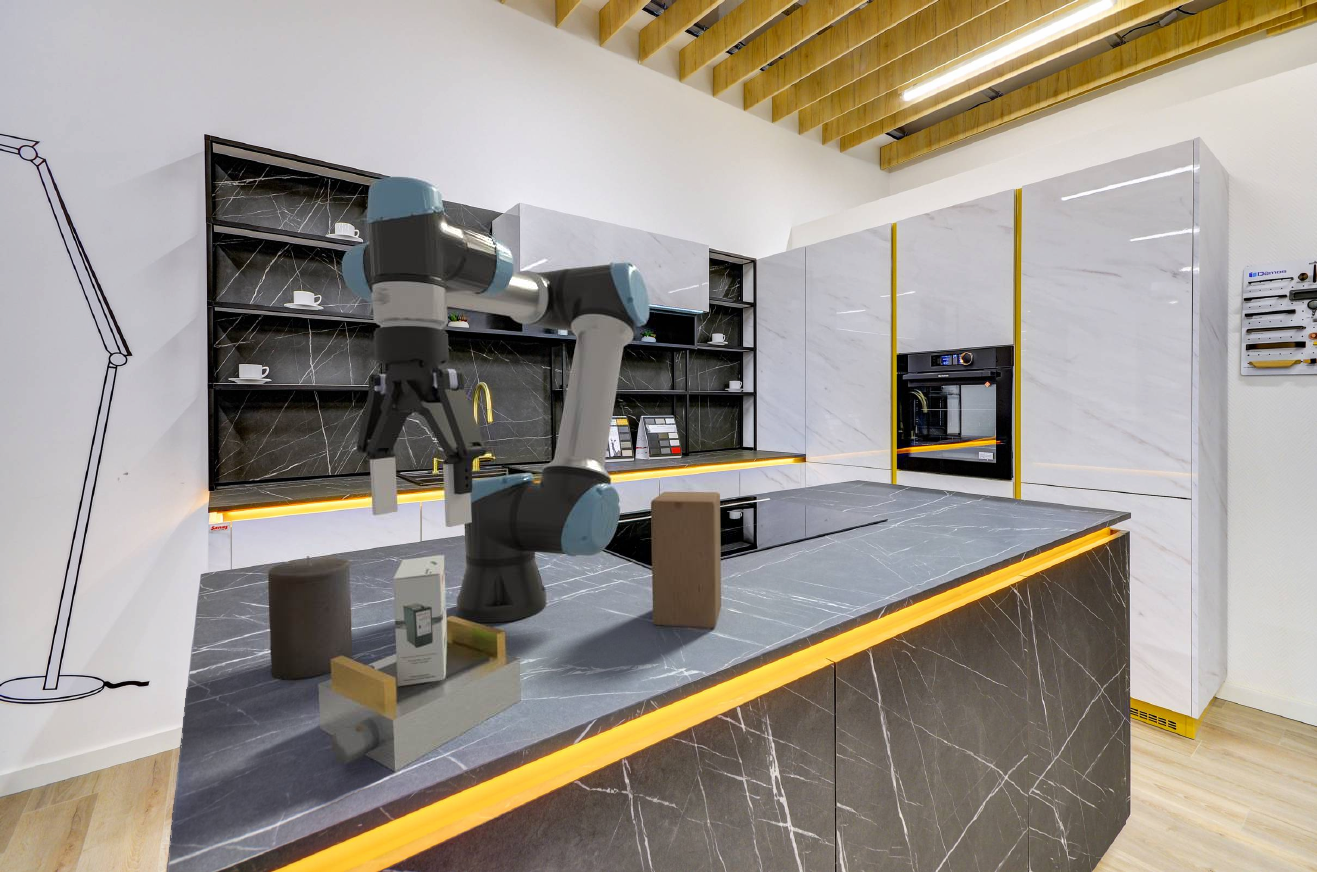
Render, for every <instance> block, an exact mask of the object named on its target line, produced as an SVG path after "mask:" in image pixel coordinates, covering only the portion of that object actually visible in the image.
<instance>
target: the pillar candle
mask: <svg viewBox="0 0 1317 872" xmlns="http://www.w3.org/2000/svg"><path fill="white" fill-rule="evenodd" d="M267 579H268V580H267V581H268V583H267V584H268V585H267V586H268V587H267V591H268V616H269V619H268V620H269V621H268V622H269V634H270V635H269V638H270V639H269V641H270V642H269V643H270V644H269V645H270V647H269V649H270V665H271V666H270V668H271V670H270V675H271V676H273V677H275V678H276V679H280V680H284V681H288V680H289V681H290V680H302V679H309V678H314V677H318V676H324V675H325V674H328V673H329V674H330V673H331V659H334V658H336V657H339V656H344V657H347V658H349V659H352V656H353V642H352V641H353V640H352V605H351V604H352V603H351V602H352V599H351V598H352V597H351V561H350V560H349V559H346V558H339V557H321V556H320V557H314V558H310V556H309V555H308V556H306V558H304V559H300V560H299V559H297V560H292V561H288V562H287V561H286V562H283V563H281V564H277V565H275V566H272V567H271V568H269V570H268V578H267Z"/></svg>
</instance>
